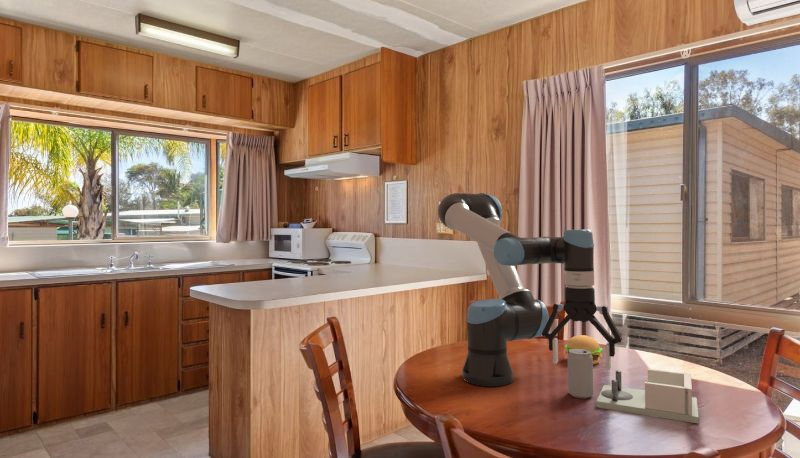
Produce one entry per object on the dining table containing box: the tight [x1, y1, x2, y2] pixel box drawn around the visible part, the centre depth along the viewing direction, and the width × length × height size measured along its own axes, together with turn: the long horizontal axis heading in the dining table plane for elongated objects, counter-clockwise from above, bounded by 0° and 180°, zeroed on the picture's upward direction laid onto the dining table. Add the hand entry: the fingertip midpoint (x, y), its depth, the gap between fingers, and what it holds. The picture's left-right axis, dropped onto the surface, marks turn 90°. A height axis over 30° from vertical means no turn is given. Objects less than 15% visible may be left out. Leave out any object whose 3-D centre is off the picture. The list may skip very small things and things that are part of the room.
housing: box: [644, 368, 693, 415], centre depth 122 cm, size 10×14×6 cm
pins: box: [611, 370, 623, 401], centre depth 127 cm, size 1×10×5 cm, turn 150°
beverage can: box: [567, 349, 594, 399], centre depth 132 cm, size 6×6×12 cm
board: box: [595, 384, 700, 425], centre depth 124 cm, size 22×14×2 cm, turn 60°
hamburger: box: [564, 334, 603, 366], centre depth 165 cm, size 12×12×9 cm
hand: (581, 365), depth 132 cm, fingers open, 13 cm apart
